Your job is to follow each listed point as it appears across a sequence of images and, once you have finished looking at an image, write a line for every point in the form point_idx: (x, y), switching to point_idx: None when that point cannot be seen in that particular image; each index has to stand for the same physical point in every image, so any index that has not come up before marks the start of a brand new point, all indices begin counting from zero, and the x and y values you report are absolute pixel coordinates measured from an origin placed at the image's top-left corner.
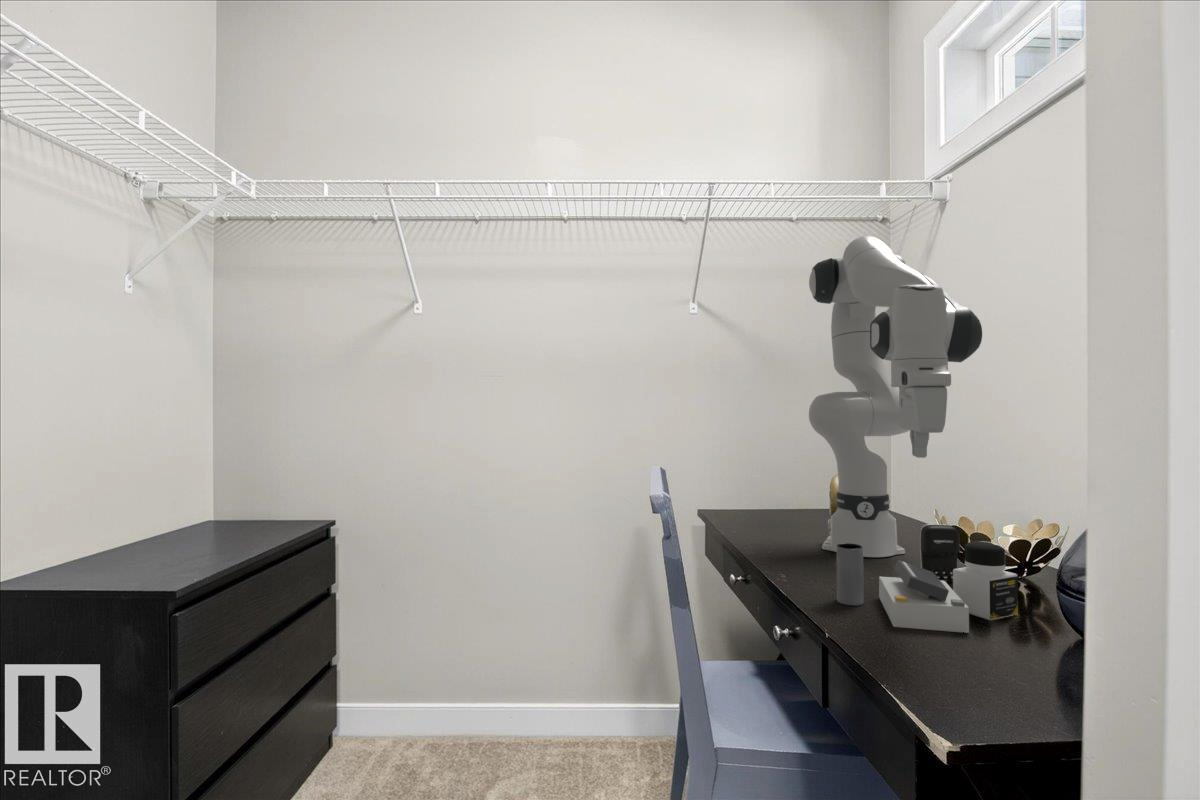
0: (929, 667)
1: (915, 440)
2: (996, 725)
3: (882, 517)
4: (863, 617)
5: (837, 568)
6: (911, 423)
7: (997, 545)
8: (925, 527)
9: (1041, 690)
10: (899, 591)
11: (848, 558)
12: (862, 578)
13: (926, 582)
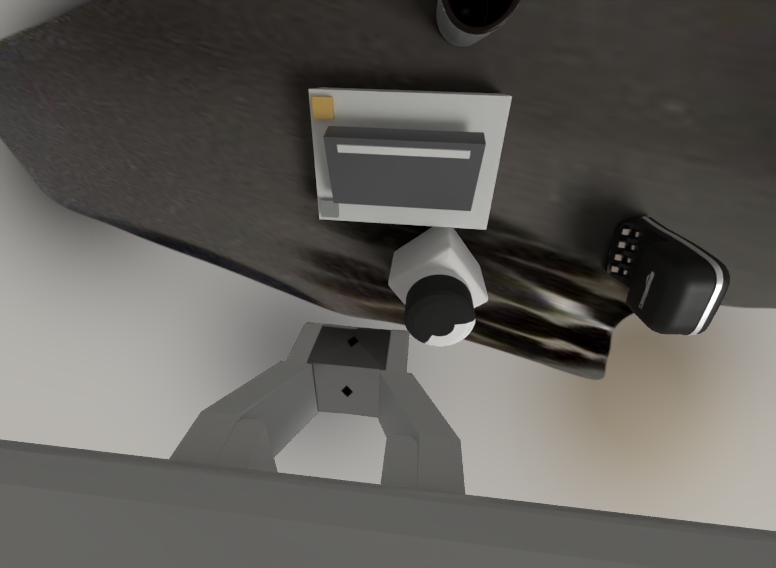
0: (161, 106)
1: (231, 394)
2: (34, 141)
3: None
4: (361, 31)
5: None
6: (14, 527)
7: (427, 338)
8: (703, 276)
9: (162, 222)
10: (390, 119)
11: None
12: (453, 38)
13: (330, 167)
